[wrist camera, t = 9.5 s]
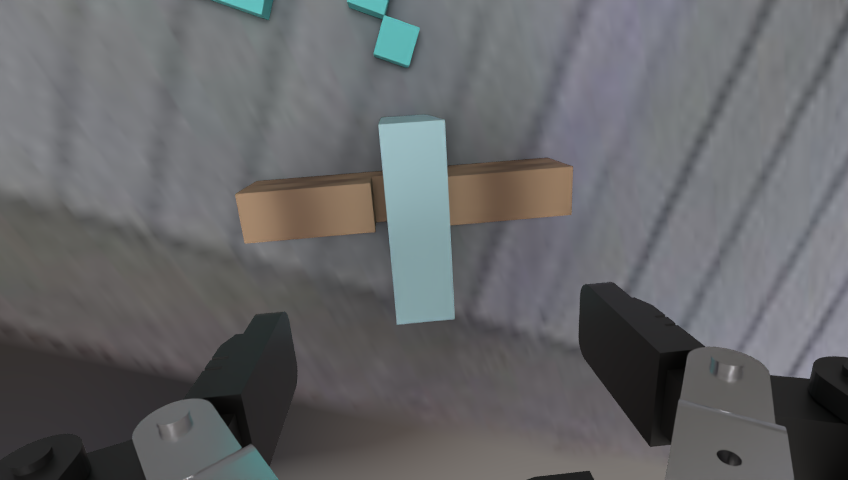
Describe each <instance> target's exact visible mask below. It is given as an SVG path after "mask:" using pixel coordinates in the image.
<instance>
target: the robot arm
mask: <svg viewBox="0 0 848 480" xmlns="http://www.w3.org/2000/svg"><path fill="white" fill-rule="evenodd" d="M579 345H580V349H581V352H582V355H583V357H584V359H585V360H586V362H587V363H588V364H589V366H590V367H591V368H592V370H593V371H594V372H595V374H596V375H597V376H598V378H599V379H600V380H601V382H602V383H603V384H604V386H605V387H606V388H607V390H608V391H609V392H610V394H611V395H612V396H613V398H614V399H615V400H616V402H617V403H618V405H619V406H620V407H621V409H622V410H623V411H624V413H625V414H626V415H627V417H628V418H629V419H630V421H631V422H632V423H633V425H634V426H635V427H636V429H637V430H638V431H639V433H640V434H641V435H642V437H643V438H644V439H645V441H646V442H647V443H648V445H649V446H650V447H653V446H662V445H671V447H670V453H669V459H668V465H667V471H666V477H665V480H848V358H847V357H836V356H835V357H823V358H819V359H817V360H816V361H815V362H814V364H813V368H812V372H811V377H810V379H805V378H794V377H783V376H772V375H770V374H769V371H768V369H767V368H766V367H765V366H764V365H763V364H762V363H761V362H759V361H758V360H756V359H754V358H753V357H751V356H748V355H746V354H744V353H741V352H738V351H735V350H731V349H726V348H720V347H705V346H704V345H702V344H701V343H700V342H699V341H697V340H696V339H695V338H694V337H692V336H691V335H690V334H688V333H687V332H686V331H685V330H683V329H682V328H681V327H680V326H678V325H675V323H674V322H673V321H672V320H671V319H669V318H668V317H665V315H664V314H663V313H662V312H660V311H659V310H658V309H657V308H655V307H654V306H653V305H651V304H648V303H646V302H644V301H641V300H639V299H637V298H632V297H630V296H629V295H628V294H627V293H625V292H624V291H623V290H622V289H621V288H619V287H618V286H617V285H616V284H615V283H613V282H607V283H596V284H585V285H583V286H582V289H581V293H580V315H579ZM296 384H297V362H296V357H295V351H294V345H293V340H292V334H291V329H290V323H289V318H288V315H287V313H286V312H277V313H266V314H256V315H255V316H254V318H253V319H252V321H251V323H250V324H249V326H248V327H247V329H246V330H245V332H244V334H236V335H235V336H233V337H232V338H230V339H229V340H228V341H226V342H225V343H224V344H222V345H221V346H220V347H219V349H218V350H217V351H216V353H215V354H214V356H213V357H212V360H210V362H209V363H208V364H207V366H206V367H205V371H203V372H202V373H201V375H200V376H199V377H198V379H197V380H196V382H195V383H194V385H193V386H192V387H191V389H190V390H189V392H188V393H187V395H186V396H185V398H184V399H183V400H181V401H177V402H174V403H171V404H168V405H166V406H164V407H162V408H159V409H158V410H156V411H154V412H153V413H151V414H150V415H148V416H147V417H146V418H145V419H143V420H142V421H141V422H140V423H139V424H138V426H137V427H136V429H135V430H134V432H133V437H132V440H129V441H126V442H123V443H120V444H116V445H113V446H110V447H106V448H103V449H100V450H96V451H93V452H90V453H86V450H85V447H84V445H83V442H82V440H81V438H80V437H78V436H76V435H73V434H60V435H55V436H50V437H47V438H43V439H40V440H37V441H35V442H32V443H30V444H27V445H25V446H23V447H21V448H19V449H17V450H16V451H14V452H12V453H10V454H9V455H8V456H6V457H4V458H3V459H2V460H0V480H278V478H277V477H276V475H275V474H274V473H273V471H272V470H271V469H270V464H271V461H272V458H273V455H274V452H275V449H276V446H277V442H278V439H279V436H280V434H281V431H282V428H283V425H284V422H285V418H286V416H287V413H288V410H289V406H290V404H291V401H292V398H293V394H294V391H295V388H296ZM528 480H594V479H593V477H592V475H591V473H590V471H583V472H575V473H566V474H557V475H548V476H539V477H533V478H531V479H528Z"/></svg>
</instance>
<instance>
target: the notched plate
mask: <svg viewBox="0 0 848 480" xmlns="http://www.w3.org/2000/svg"><path fill="white" fill-rule="evenodd" d="M378 126H379V137H380V147H381V158H382V169H383V179H384V190H385V201H386V211H387V222H388V233H389V244H390V254H391V265H392V276H393V286H394V297H395V308H396V318H397V325H398V324H408V323H419V322H429V321H439V320H450V319H455V313H454V293H453V273H452V253H451V233H450V213H449V193H448V173H447V153H446V133H445V120H443V119H440V118H437V117H434V116H430V115H427V114H423V115H409V116H394V117H381V119H380V122H379V124H378Z"/></svg>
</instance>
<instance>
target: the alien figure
mask: <svg viewBox="0 0 848 480" xmlns="http://www.w3.org/2000/svg"><path fill="white" fill-rule="evenodd" d="M212 1H215V2H218V3H221V4H224V5H226V6H229V7H232V8H235V9H238V10H241V11H244V12H247V13H250V14H253V15H255V16H258V17H261V18H264V19H267V20H269V18H270V13H271V8H272V3H273V0H212ZM347 3H348V6H349V8H352V9H355V10H357V11H360V12H363V13H366V14H369V15H371V16H374V17H377V18H380V19H382V24H381V28H380V32H379V35H378V39H377V43H376V47H375V50H374V57H377V58H380V59H383V60H386V61H389V62H392V63H394V64H397V65H400V66H403V67H406V68H408V67H409V64H410V61H411V57H412V54H413V50H414V47H415V44H416V40H417V37H418V33H419V30H420V28H419V27H416V26H413V25H410V24H408V23H405V22H402V21H399V20H397V19H394V18H391V17H388V16H386V11H387V7H388V4H389V0H347Z"/></svg>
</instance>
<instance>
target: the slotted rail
mask: <svg viewBox="0 0 848 480" xmlns="http://www.w3.org/2000/svg"><path fill="white" fill-rule="evenodd" d="M447 173H448V193H449V213H450V225H461V224H472V223H483V222H495V221H506V220H517V219H529V218H540V217H552V216H563V215H571V212H572V180H573V166H570V165H567V164H564V163H561V162H558V161H555V160H553V159H550V158H537V159H525V160H512V161H500V162H488V163H475V164H463V165H450V166H447ZM235 197H236V202H237V207H238V212H239V217H240V222H241V227H242V232H243V237H244V242H245V243H256V242H268V241H279V240H290V239H302V238H313V237H324V236H336V235H347V234H358V233H370V232H375V231H376V222H386V221H387V211H386V201H385V190H384V179H383V171H376V172H363V173H351V174H338V175H326V176H314V177H301V178H289V179H276V180H264V181H256V182H254V183H253V184H251V185H249V186H248V187H246V188H244V189H243V190H241V191H239V192H238V193H236V194H235Z"/></svg>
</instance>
